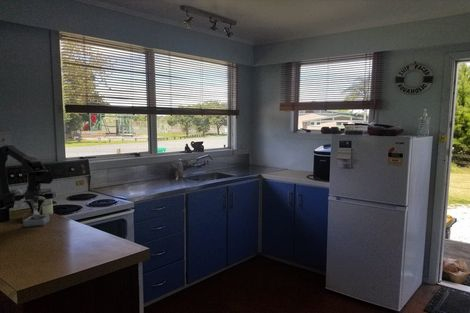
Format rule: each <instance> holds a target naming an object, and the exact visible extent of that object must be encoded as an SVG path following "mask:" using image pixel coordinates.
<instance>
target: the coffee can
mask: <svg viewBox="0 0 470 313" xmlns="http://www.w3.org/2000/svg"><path fill="white" fill-rule="evenodd" d="M41 191H42V193H41V194H45V193H47V192H53V189H51V188H41ZM37 200H39V198H36V199H34V200H33V201H34V208H35V207H38V201H37ZM52 214H54V205H53V199H46V200H44V202H43V204H42V207H41V210H40V216H43V215H49V216H50V215H52Z"/></svg>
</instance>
